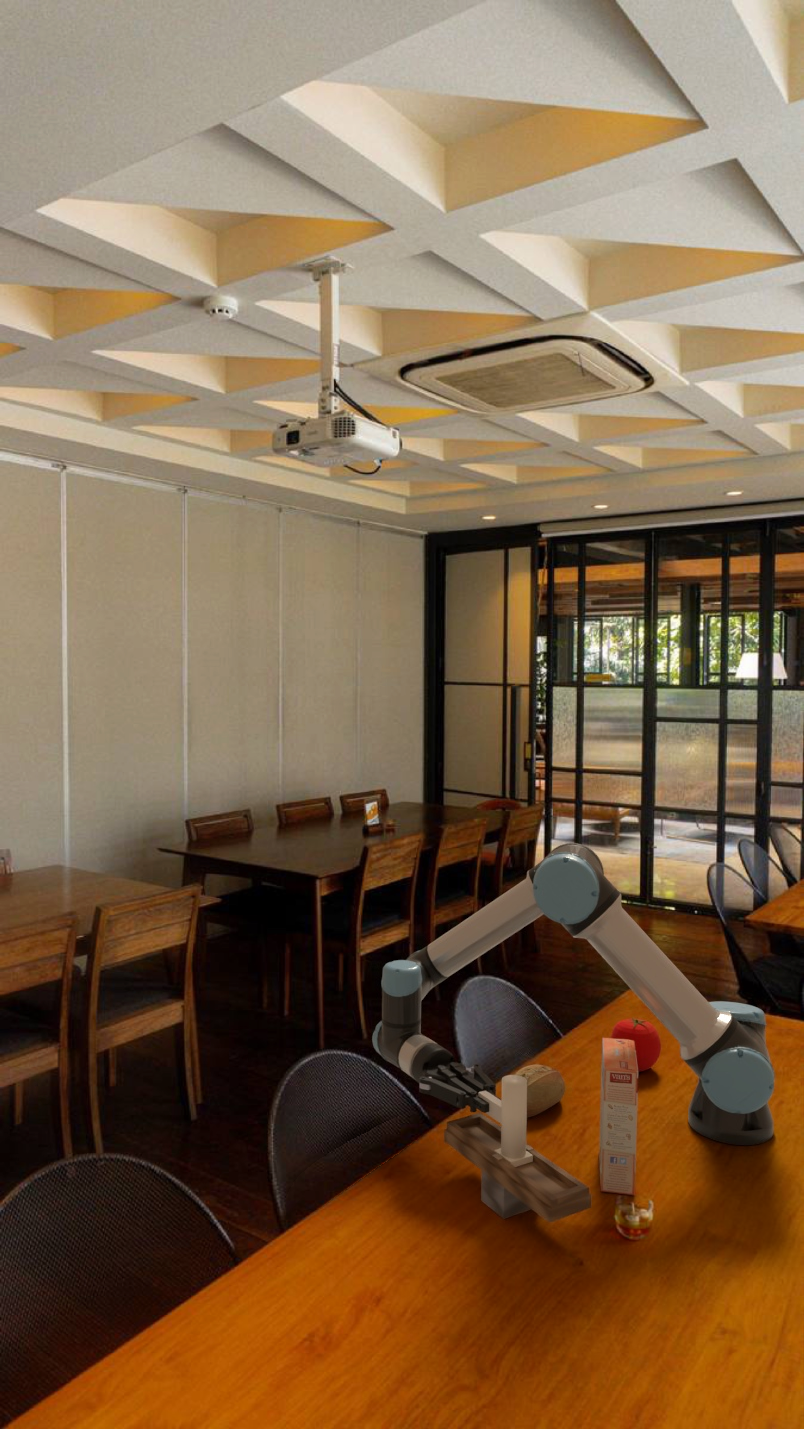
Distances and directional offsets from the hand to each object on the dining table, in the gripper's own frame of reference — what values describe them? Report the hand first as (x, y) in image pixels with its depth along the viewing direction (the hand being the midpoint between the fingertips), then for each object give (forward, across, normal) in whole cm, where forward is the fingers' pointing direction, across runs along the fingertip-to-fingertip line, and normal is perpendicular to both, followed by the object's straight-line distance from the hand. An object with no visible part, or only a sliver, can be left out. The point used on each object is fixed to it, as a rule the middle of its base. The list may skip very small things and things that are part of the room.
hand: (505, 1114), depth 153 cm
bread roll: (-23, -25, -14) cm, 36 cm away
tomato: (-27, -55, -14) cm, 63 cm away
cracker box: (+4, -21, -14) cm, 25 cm away
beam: (+2, 0, -14) cm, 14 cm away
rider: (+2, 0, -6) cm, 7 cm away
